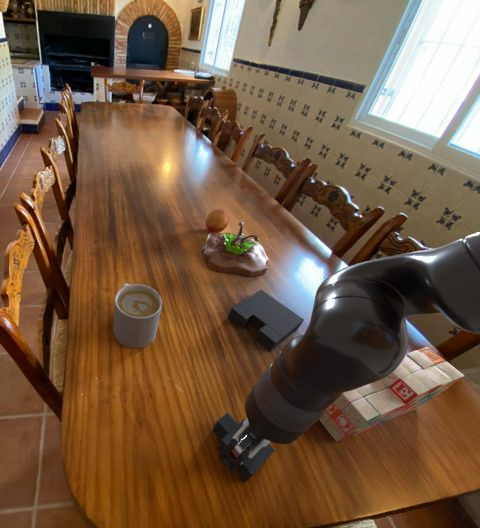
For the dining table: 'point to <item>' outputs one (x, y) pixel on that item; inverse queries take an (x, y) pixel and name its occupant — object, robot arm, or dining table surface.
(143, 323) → the coffee mug
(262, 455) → the pad
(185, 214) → the dining table surface
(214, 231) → the fruit
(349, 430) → the stack of blocks
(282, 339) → the notch pad
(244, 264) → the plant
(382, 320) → the robot arm
